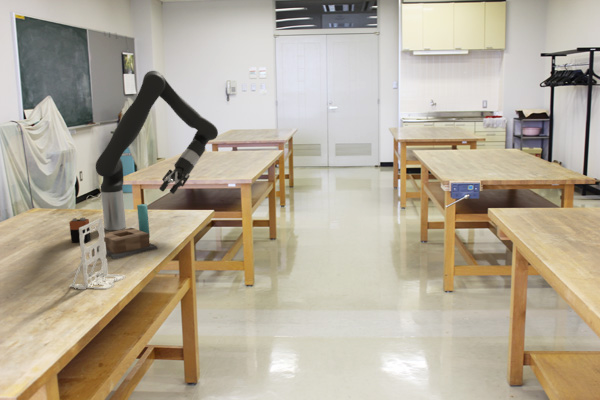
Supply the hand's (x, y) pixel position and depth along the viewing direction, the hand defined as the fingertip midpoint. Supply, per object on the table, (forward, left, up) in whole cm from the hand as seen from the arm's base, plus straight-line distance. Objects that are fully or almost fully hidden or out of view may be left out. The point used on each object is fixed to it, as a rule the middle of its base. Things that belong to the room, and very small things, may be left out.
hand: (166, 191), depth 251 cm
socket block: (+10, -26, -18) cm, 33 cm away
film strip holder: (+39, -50, -18) cm, 66 cm away
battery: (-15, -33, -18) cm, 40 cm away
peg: (0, -12, -18) cm, 21 cm away
